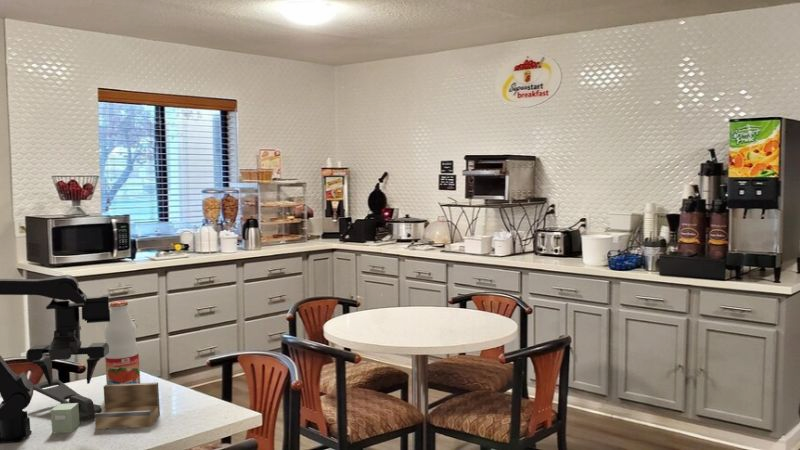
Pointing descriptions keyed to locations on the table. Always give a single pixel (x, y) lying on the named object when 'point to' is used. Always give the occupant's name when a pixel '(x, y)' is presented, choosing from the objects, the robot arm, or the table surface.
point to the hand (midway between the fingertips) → (69, 384)
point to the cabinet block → (65, 417)
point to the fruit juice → (121, 346)
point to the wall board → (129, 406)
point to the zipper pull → (64, 392)
